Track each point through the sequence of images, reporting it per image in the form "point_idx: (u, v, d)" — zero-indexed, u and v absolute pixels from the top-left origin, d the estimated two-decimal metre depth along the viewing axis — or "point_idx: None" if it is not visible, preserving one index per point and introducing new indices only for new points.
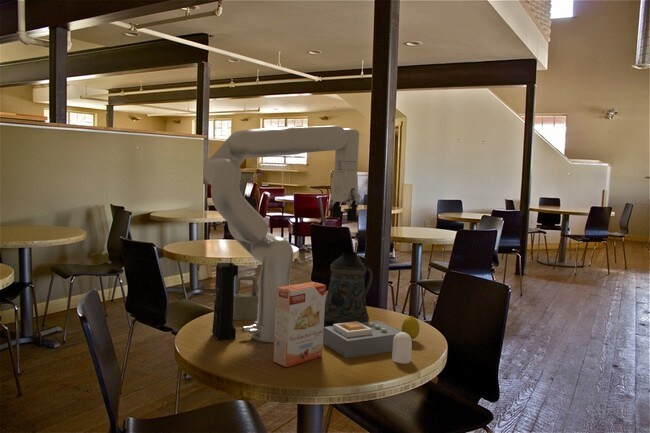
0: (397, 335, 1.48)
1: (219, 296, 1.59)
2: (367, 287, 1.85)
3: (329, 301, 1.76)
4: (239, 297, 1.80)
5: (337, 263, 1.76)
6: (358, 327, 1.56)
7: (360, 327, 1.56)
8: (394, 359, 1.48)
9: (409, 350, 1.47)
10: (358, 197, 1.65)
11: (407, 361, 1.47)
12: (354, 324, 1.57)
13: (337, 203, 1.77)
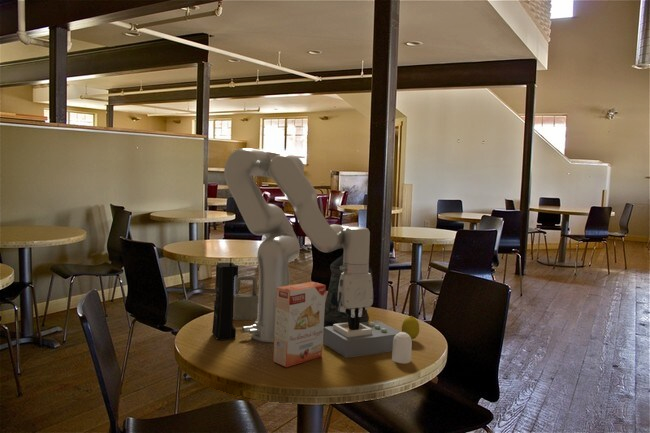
0: (397, 335, 1.48)
1: (219, 296, 1.59)
2: None
3: (329, 301, 1.76)
4: (239, 297, 1.80)
5: (337, 263, 1.76)
6: None
7: None
8: (394, 359, 1.48)
9: (409, 350, 1.47)
10: None
11: (407, 361, 1.47)
12: None
13: None
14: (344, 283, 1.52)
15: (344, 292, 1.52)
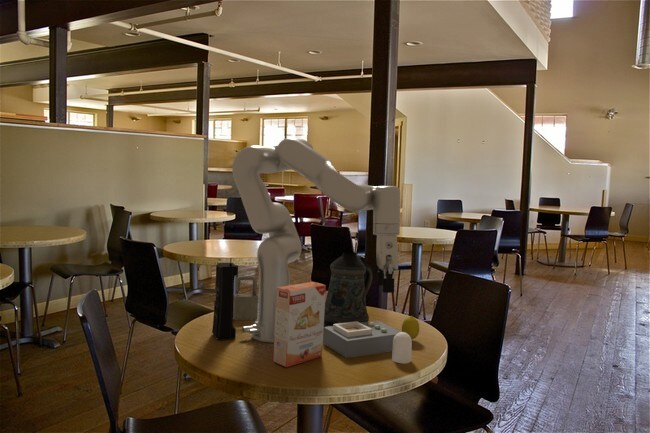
0: (397, 335, 1.48)
1: (219, 296, 1.59)
2: (367, 287, 1.85)
3: (329, 301, 1.76)
4: (239, 297, 1.80)
5: (337, 263, 1.76)
6: None
7: None
8: (394, 359, 1.48)
9: (409, 350, 1.47)
10: None
11: (407, 361, 1.47)
12: None
13: None
14: (394, 244, 1.45)
15: (396, 253, 1.45)
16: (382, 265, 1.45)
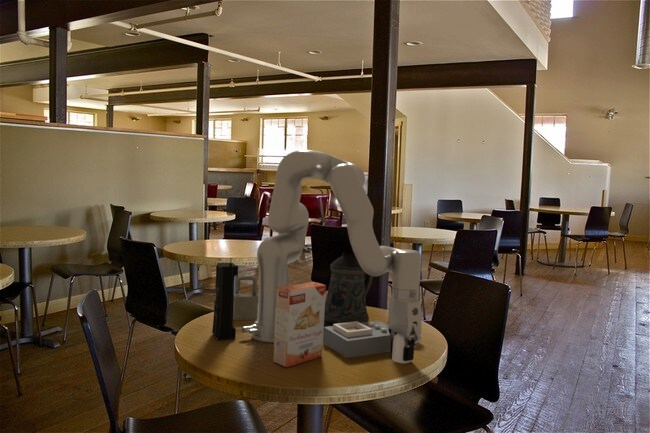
0: (397, 335, 1.48)
1: (219, 296, 1.59)
2: (367, 287, 1.85)
3: (329, 301, 1.76)
4: (239, 297, 1.80)
5: (337, 263, 1.76)
6: None
7: None
8: (394, 359, 1.48)
9: None
10: None
11: (407, 361, 1.47)
12: None
13: None
14: (419, 310, 1.44)
15: (420, 319, 1.45)
16: (409, 332, 1.43)
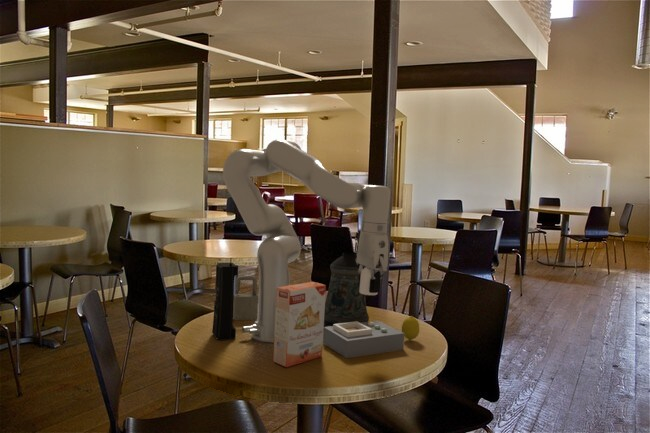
0: (365, 268, 1.52)
1: (219, 296, 1.59)
2: None
3: (329, 301, 1.76)
4: (239, 297, 1.80)
5: (337, 263, 1.76)
6: None
7: None
8: (361, 291, 1.52)
9: None
10: None
11: (373, 293, 1.51)
12: None
13: None
14: (386, 243, 1.49)
15: (387, 252, 1.49)
16: (375, 264, 1.47)
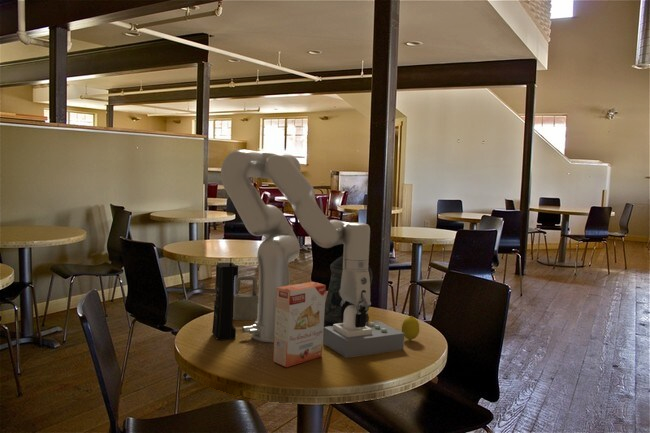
0: (347, 307, 1.56)
1: (219, 296, 1.59)
2: None
3: (329, 301, 1.76)
4: (239, 297, 1.80)
5: (337, 263, 1.76)
6: None
7: None
8: None
9: None
10: None
11: None
12: None
13: None
14: (368, 280, 1.52)
15: (369, 288, 1.53)
16: (357, 300, 1.51)
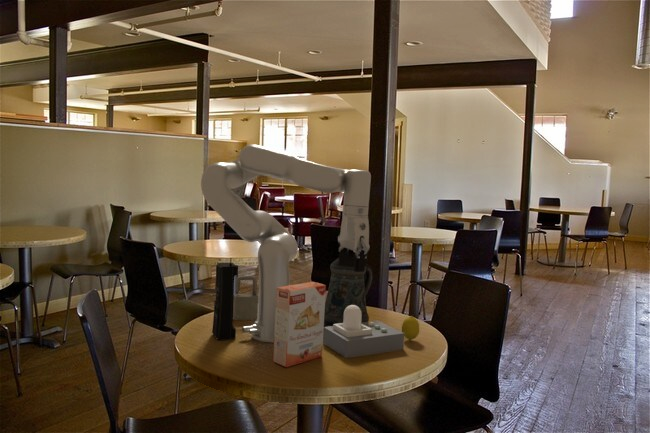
0: (347, 307, 1.56)
1: (219, 296, 1.59)
2: (367, 287, 1.85)
3: (329, 301, 1.76)
4: (239, 297, 1.80)
5: (337, 263, 1.76)
6: None
7: None
8: None
9: (358, 321, 1.55)
10: None
11: None
12: None
13: None
14: (367, 226, 1.53)
15: (368, 234, 1.53)
16: (355, 246, 1.52)
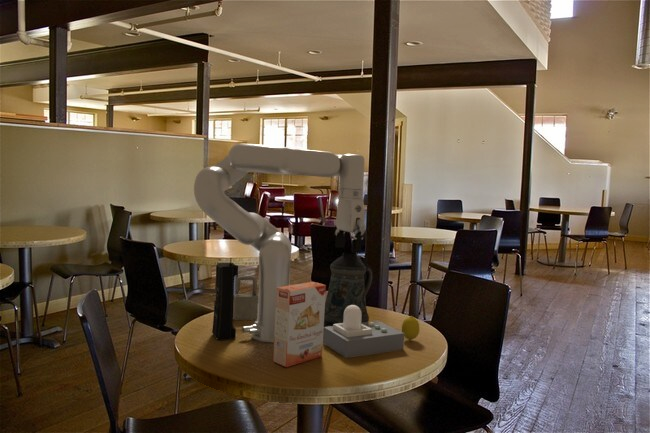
0: (347, 307, 1.56)
1: (219, 296, 1.59)
2: (367, 287, 1.85)
3: (329, 301, 1.76)
4: (239, 297, 1.80)
5: (337, 263, 1.76)
6: None
7: None
8: None
9: (358, 321, 1.55)
10: None
11: None
12: None
13: None
14: (362, 208, 1.58)
15: (363, 216, 1.59)
16: (352, 227, 1.57)
